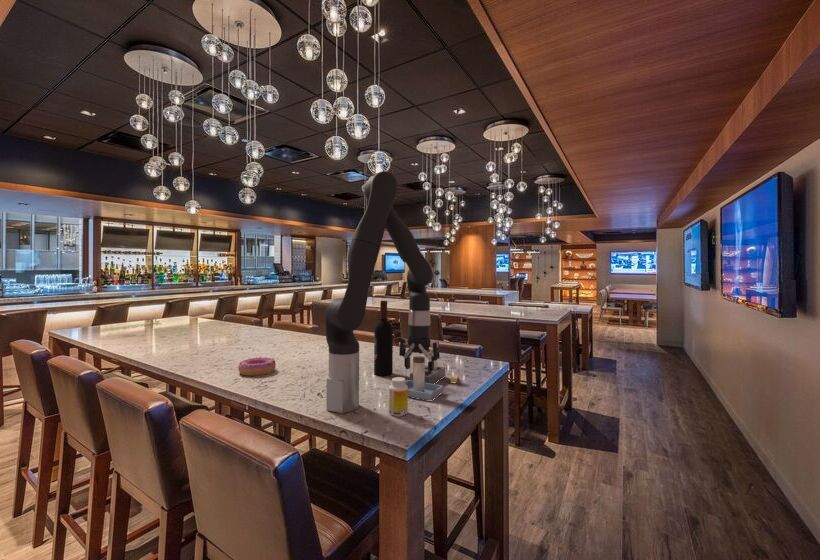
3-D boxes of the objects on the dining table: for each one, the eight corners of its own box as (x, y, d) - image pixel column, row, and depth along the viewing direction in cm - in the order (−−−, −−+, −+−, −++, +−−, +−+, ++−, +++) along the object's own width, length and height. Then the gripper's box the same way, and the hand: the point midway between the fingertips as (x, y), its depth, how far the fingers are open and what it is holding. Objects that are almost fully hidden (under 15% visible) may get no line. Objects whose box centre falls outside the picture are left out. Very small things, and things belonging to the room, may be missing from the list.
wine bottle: (384, 377, 143) (384, 302, 142) (370, 374, 147) (370, 301, 147) (396, 373, 149) (396, 300, 148) (382, 370, 153) (383, 300, 153)
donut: (252, 379, 140) (252, 366, 140) (230, 373, 147) (230, 361, 147) (283, 371, 152) (283, 359, 152) (261, 366, 160) (261, 354, 160)
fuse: (434, 380, 140) (435, 349, 140) (425, 378, 142) (425, 348, 142) (439, 377, 143) (439, 347, 143) (429, 376, 145) (430, 346, 145)
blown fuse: (421, 395, 122) (421, 359, 121) (410, 393, 123) (411, 358, 123) (426, 391, 125) (426, 357, 125) (416, 389, 127) (416, 355, 127)
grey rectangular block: (429, 387, 131) (429, 376, 131) (409, 384, 134) (409, 373, 134) (445, 377, 144) (445, 367, 144) (427, 374, 148) (427, 365, 148)
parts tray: (443, 392, 125) (443, 385, 125) (431, 401, 117) (431, 394, 116) (407, 386, 132) (407, 379, 132) (393, 394, 123) (393, 387, 123)
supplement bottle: (411, 413, 107) (411, 379, 107) (398, 418, 103) (398, 383, 103) (398, 408, 111) (398, 375, 110) (384, 413, 107) (385, 379, 106)
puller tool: (457, 383, 136) (457, 380, 136) (450, 383, 136) (450, 379, 136) (457, 377, 144) (457, 374, 144) (451, 377, 144) (451, 373, 144)
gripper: (395, 323, 124) (395, 370, 124) (433, 326, 117) (433, 376, 117) (406, 320, 130) (406, 365, 131) (442, 323, 124) (442, 370, 124)
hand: (418, 370), depth 124 cm, fingers open, 8 cm apart
